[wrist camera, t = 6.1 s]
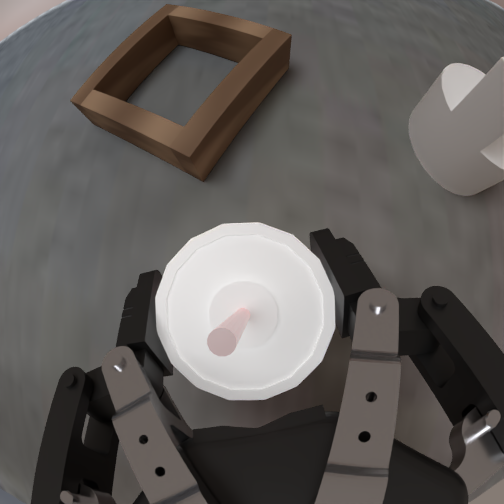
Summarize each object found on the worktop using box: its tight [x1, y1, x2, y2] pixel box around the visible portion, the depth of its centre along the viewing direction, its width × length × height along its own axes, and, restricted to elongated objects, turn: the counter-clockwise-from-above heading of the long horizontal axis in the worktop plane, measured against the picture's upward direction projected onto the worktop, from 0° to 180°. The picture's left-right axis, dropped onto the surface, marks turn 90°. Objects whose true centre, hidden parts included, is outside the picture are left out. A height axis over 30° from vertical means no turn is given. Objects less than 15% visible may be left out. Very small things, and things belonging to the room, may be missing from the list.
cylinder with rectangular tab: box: [408, 57, 504, 196], centre depth 13 cm, size 9×9×12 cm
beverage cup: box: [155, 222, 335, 400], centre depth 11 cm, size 6×6×14 cm
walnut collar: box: [70, 4, 292, 182], centre depth 19 cm, size 12×12×4 cm
